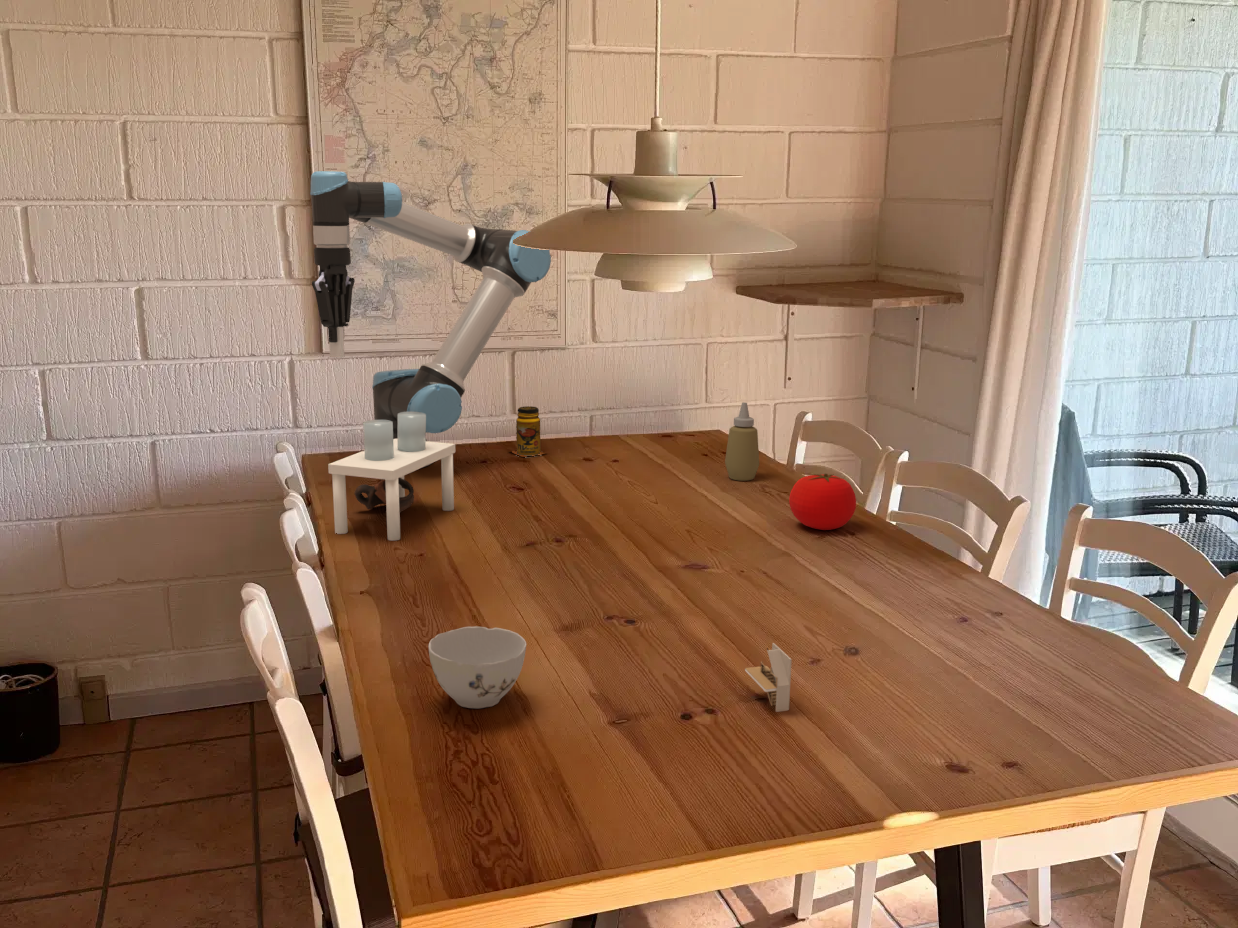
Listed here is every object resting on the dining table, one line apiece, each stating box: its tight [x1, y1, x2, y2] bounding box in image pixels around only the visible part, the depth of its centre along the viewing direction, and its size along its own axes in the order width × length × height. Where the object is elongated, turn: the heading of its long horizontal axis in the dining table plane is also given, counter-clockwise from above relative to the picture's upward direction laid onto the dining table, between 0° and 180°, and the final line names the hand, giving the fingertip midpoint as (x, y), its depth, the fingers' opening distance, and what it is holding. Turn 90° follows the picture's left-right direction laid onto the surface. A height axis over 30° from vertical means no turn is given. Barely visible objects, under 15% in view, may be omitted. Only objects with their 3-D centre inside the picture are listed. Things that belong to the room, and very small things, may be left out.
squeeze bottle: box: [724, 402, 760, 482], centre depth 259 cm, size 8×8×18 cm
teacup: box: [428, 626, 527, 710], centre depth 145 cm, size 15×12×8 cm
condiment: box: [515, 405, 542, 456], centre depth 282 cm, size 7×8×12 cm
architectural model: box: [744, 642, 792, 713], centre depth 145 cm, size 3×7×7 cm, turn 16°
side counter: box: [327, 439, 456, 542], centre depth 222 cm, size 25×14×14 cm, turn 161°
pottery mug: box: [354, 478, 415, 516], centre depth 229 cm, size 12×10×8 cm
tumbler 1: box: [362, 419, 394, 461], centre depth 216 cm, size 6×6×7 cm
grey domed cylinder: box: [397, 411, 427, 452], centre depth 224 cm, size 6×6×7 cm
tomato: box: [788, 473, 857, 531], centre depth 222 cm, size 12×13×11 cm
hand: (337, 356), depth 241 cm, fingers closed
